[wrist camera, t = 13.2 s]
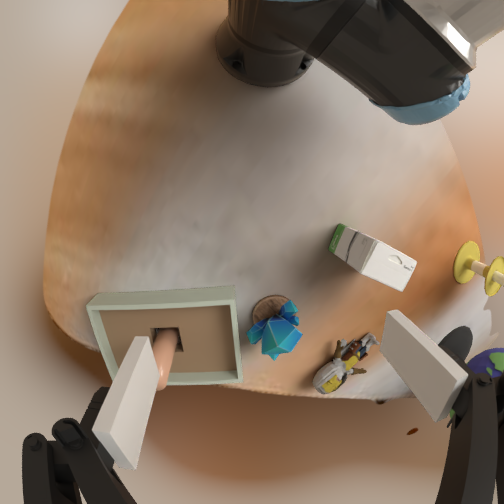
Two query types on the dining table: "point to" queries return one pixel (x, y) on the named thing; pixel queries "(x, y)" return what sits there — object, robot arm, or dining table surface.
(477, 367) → the globe
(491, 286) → the candle
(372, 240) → the ink box
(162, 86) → the dining table surface
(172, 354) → the peg
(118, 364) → the box
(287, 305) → the gemstone
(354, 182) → the dining table surface
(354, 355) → the toy
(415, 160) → the dining table surface
